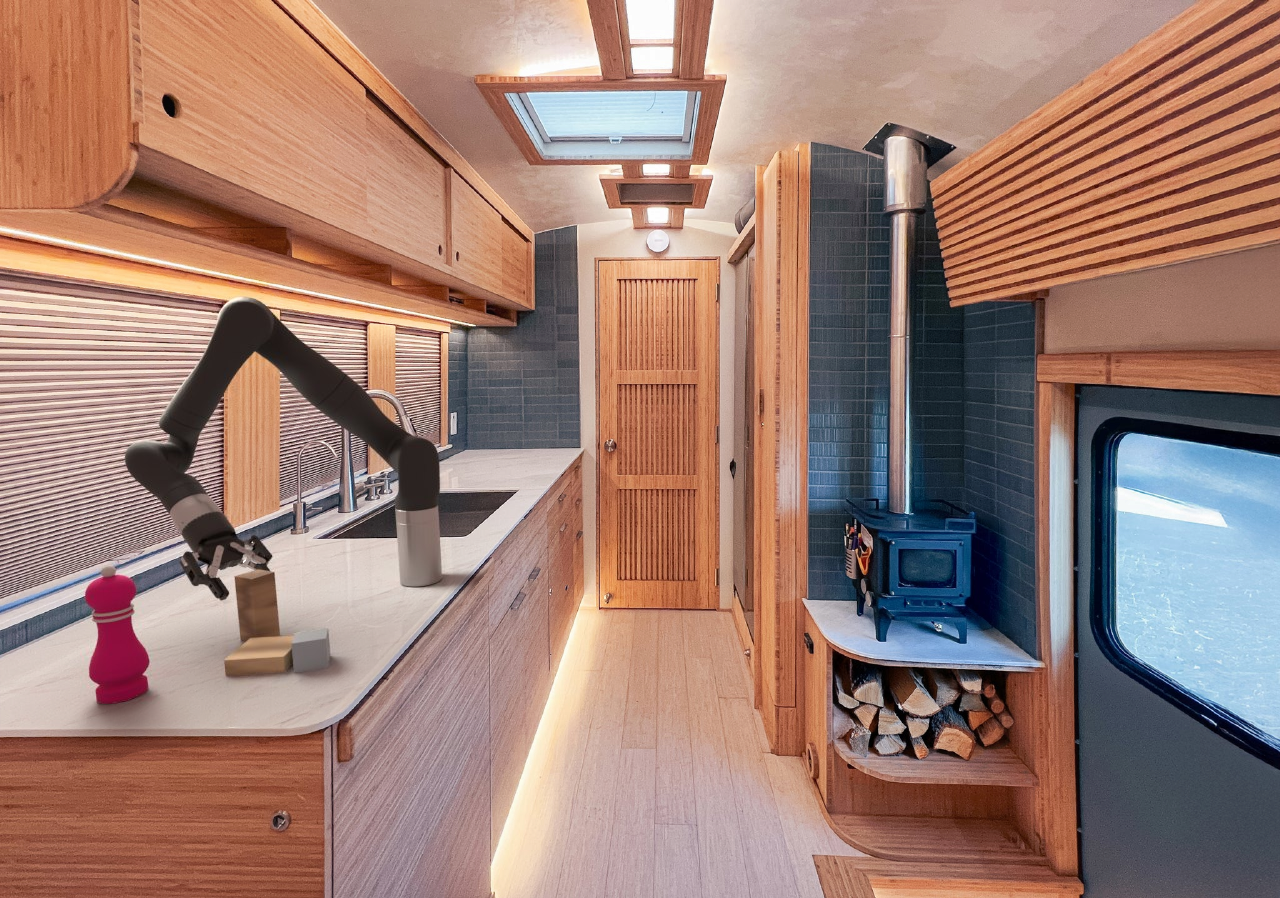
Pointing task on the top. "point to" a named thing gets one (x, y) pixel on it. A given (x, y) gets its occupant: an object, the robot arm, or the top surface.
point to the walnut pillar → (257, 604)
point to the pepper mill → (116, 640)
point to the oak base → (261, 656)
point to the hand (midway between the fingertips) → (248, 590)
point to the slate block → (311, 650)
